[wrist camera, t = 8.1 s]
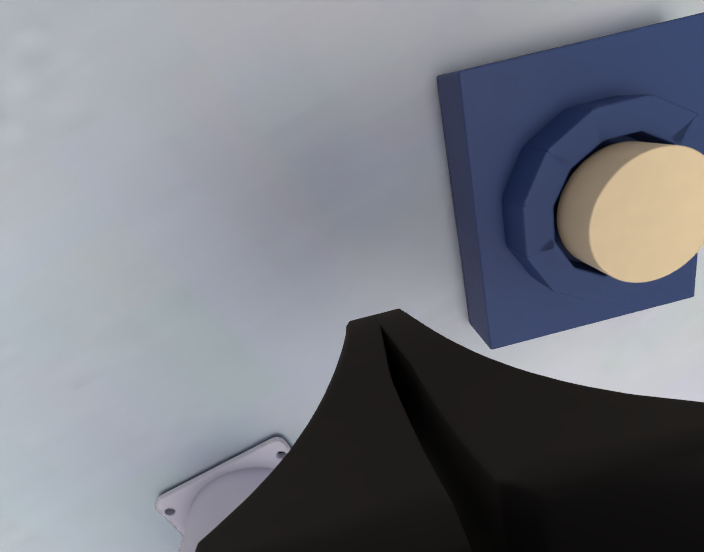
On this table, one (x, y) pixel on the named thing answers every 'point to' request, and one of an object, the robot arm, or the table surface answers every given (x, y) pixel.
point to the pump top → (635, 210)
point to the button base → (560, 169)
